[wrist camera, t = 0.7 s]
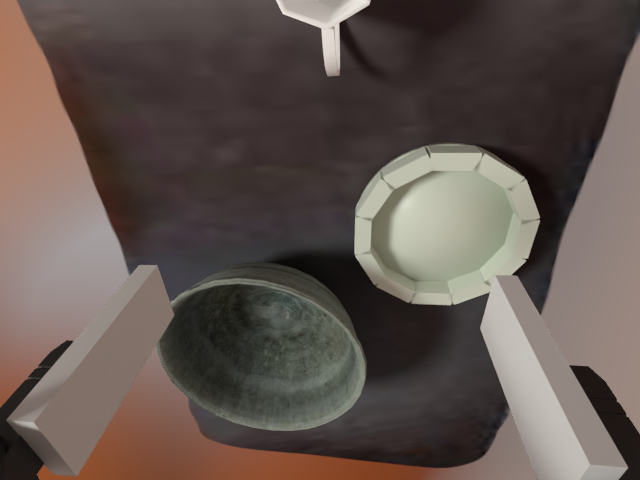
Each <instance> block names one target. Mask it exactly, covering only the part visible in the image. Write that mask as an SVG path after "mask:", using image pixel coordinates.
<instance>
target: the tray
mask: <svg viewBox="0 0 640 480" xmlns="http://www.w3.org/2000/svg"><path fill="white" fill-rule="evenodd" d="M538 218H540V216H539V213H538V210H537V207H536V205H535V202H534V199H533V196H532V194H531V191H530V188H529V185H528V183H527V180H526V179H525V178H524V177H523V176H522V175H521V174H520V173H519V172H518V171H517V170H516V169H515V168H513V167H512V166H510V165H508V164H507V163H505V162H504V161H503V160H501V159H500V158H499V157H497V156H496V155H494V154H493V153H491V152H489V151H487V150H485V149H483V148H481V147H477V146H476V145H470V144H464V143H455V142H443V143H434V144H428V145H424V146H420V147H417V148H414V149H411V150H409V151H407V152H405V153H403V154H401V155H399V156H397V157H396V158H394V159H392V160H391V161H390V162H388V163H387V164H386V165H384V166H383V167H382V168H381V169H380V170H379V171H378V172H377V173H376V174H375V175H374V176H373V177H372V179H371V180H370V181H369V183H368V184H367V186H366V187H365V189H364V191H363V193H362V195H361V197H360V200H359V202H358V203H357V205H356V208H355V251H354V254H355V257H356V258H357V260H358V261H359V263H360V264H361V266H362V268H363V269H364V271H365V272H366V274H367V275H368V277H369V278H370V280H371V281H372V283H373V284H374V285H376V287H378V288H380V289H382V290H384V291H386V292H388V293H390V294H392V295H394V296H396V297H398V298H400V299H402V300H404V301H406V302H408V303H409V302H410V301H411V304H432V305H451V303H452V302H453V304H454V305H455V304H458V303H460V302H463V301H466V300H469V299H472V298H475V297H477V296H480V295H483V294H486V293H489V292H491V288H492V285H493V281H494V277H495V275H510V276H511V275H512V274H513V273H514V272H515V271H516V270H517V269H518V268H519V267H520V266H522V265H523V264H524V263H525V262H526V260H525V259H528V257H529V254H530V251H531V248H532V244H533V241H534V238H535V235H536V232H537V229H538V226H539V223H540V220H539V219H538Z"/></svg>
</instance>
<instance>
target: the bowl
mask: <svg viewBox="0 0 640 480" xmlns="http://www.w3.org/2000/svg"><path fill="white" fill-rule="evenodd" d="M170 304H171V307H172V310H173V313H174V317H173V318H172V320H171V322H170V323H169V325H168V327H167V328H166V330H165V332H164V333H163V335H162V337H161V338H160V340H159V342H158V343H157V345H156V348H157V352H158V355H159V358H160V360H161V363H162V366H163V368H164V369H165V371H166V373H167V374H168V376H169V377H170V379H171V381H172V382H173V383H174V384H175V385H176V386H177V387H178V388H179V389H180V390H181V391H182V392H183V393H184V394H185V395H186V396H188V397H189V398H190V399H191V400H193V401H194V402H195V403H196V404H198V405H199V406H201V407H202V408H204V409H206V410H208V411H210V412H211V413H213V414H215V415H217V416H219V417H222V418H224V419H227V420H229V421H231V422H234V423H237V424H241V425H245V426H249V427H253V428H260V429H267V430H285V431H292V430H301V429H309V428H313V427H316V426H319V425H322V424H326V423H328V422H330V421H332V420H334V419H336V418H338V417H339V416H341V415H342V414H343V413H345V412H346V411H347V410H349V409H350V408H351V407H352V406H353V405H354V403H355V402H356V400H357V399H358V397H359V396H360V395H361V393H362V391H363V388H364V384H365V380H366V369H367V360H366V357H365V354H364V351H363V348H362V345H361V343H360V341H359V340H358V338H357V336H356V333H355V330H354V327H353V324H352V321H351V319H350V317H349V315H348V314H347V312H346V310H345V309H344V307H343V306H342V304H341V303H340V301H339V300H338V298H337V297H336V296H335V295H334V294H333V293H332V292H331V291H330V290H329V289H328V288H327V287H326V286H325V285H323V284H322V283H321V282H319V281H318V280H316V279H315V278H314V277H312V276H311V275H308V274H306V273H304V272H301V271H299V270H297V269H294V268H291V267H287V266H283V265H280V264H274V263H264V262H254V263H244V264H239V265H236V266H232V267H229V268H226V269H222V270H220V271H218V272H216V273H214V274H212V275H211V276H209V277H207V278H205V279H204V280H202V281H200V282H198V283H197V284H195V285H194V286H192V287H191V288H190V289H188V290H187V291H185V292H183V293H181V294H179V295H178V296H177V297H176V298H175V299H174V300H172V301H171V302H170Z"/></svg>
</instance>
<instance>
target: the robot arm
mask: <svg viewBox="0 0 640 480" xmlns="http://www.w3.org/2000/svg"><path fill="white" fill-rule="evenodd" d="M173 317H174V313H173V310H172V307H171V304H170V301H169V298H168V295H167V292H166V289H165V286H164V283H163V281H162V278H161V275H160V272H159V269H158V266H157V265H139V266H138V267H137V268H136V269H135V271H134V272H133V273H132V274H131V275H130V276H129V278H128V279H127V280H126V281H125V282H124V283H123V285H122V286H121V287H120V288H119V289H118V290H117V292H116V293H115V294H114V295H113V296H112V298H111V299H110V300H109V301H108V302H107V303H106V304H105V306H104V307H103V308H102V309H101V310H100V311H99V313H98V314H97V315H96V316H95V317H94V318H93V320H92V321H91V322H90V323H89V324H88V325H87V327H86V328H85V329H84V330H83V331H82V332H81V334H80V335H79V336H78V337H77V338H76V339H75V341H65V342H64V343H63V344H61V345H60V346H58V347H57V348H56V349H54V350H53V351H51V352H50V353H49V354H48V356H47V357H46V358H45V359H44V360H43V361H42V362H41V363H40V364H39V366H38V368H37V369H35V370H34V371H33V372H32V373H31V375H29V377H28V380H25V381H24V382H23V383H22V384H21V386H20V387H19V388H18V389H17V390H16V391H15V392H14V393H13V394H12V395H11V397H10V398H9V399H8V400H7V401H6V402H5V403H4V404H3V405H2V407H1V408H0V480H39V478H38V476H37V473H38V472H39V470H40V469H41V467H42V466H43V465H45V466H46V467H47V468H48V469H49V470H50V472H51V473H52V474H57V475H67V476H77V475H78V474H79V472H80V470H81V469H82V467H83V465H84V464H85V462H86V461H87V459H88V457H89V456H90V454H91V452H92V451H93V449H94V447H95V446H96V444H97V442H98V441H99V439H100V437H101V436H102V434H103V432H104V431H105V429H106V427H107V426H108V424H109V423H110V421H111V419H112V417H113V416H114V414H115V413H116V411H117V409H118V408H119V406H120V404H121V403H122V401H123V399H124V398H125V396H126V394H127V393H128V391H129V389H130V387H131V386H132V384H133V383H134V381H135V379H136V378H137V376H138V374H139V373H140V371H141V370H142V368H143V366H144V365H145V363H146V361H147V360H148V358H149V356H150V355H151V353H152V351H153V350H154V348H155V346H156V345H157V343H158V342H159V340H160V338H161V337H162V335H163V333H164V332H165V330H166V328H167V327H168V325H169V323H170V322H171V320H172V318H173ZM480 329H481V332H482V334H483V337H484V340H485V343H486V345H487V348H488V351H489V353H490V356H491V359H492V361H493V364H494V367H495V369H496V372H497V375H498V378H499V380H500V383H501V386H502V388H503V391H504V394H505V396H506V399H507V402H508V404H509V407H510V410H511V412H512V415H513V418H514V421H515V423H516V426H517V429H518V431H519V434H520V437H521V439H522V442H523V445H524V448H525V450H526V453H527V456H528V458H529V461H530V464H531V466H532V469H533V472H534V474H535V477H536V480H640V434H639V432H638V431H637V429H636V428H635V426H634V425H633V423H632V422H631V420H630V419H629V417H626V413H625V411H624V410H623V408H622V406H621V405H620V404H619V403H618V402H617V399H616V397H615V396H614V394H613V393H612V391H611V390H610V388H609V387H608V385H607V384H606V382H605V381H604V380H603V379H602V378H601V377H599V376H598V375H597V374H596V373H595V372H594V371H593V370H592V369H591V368H589V367H588V366H571V365H568V363H567V361H566V359H565V358H564V356H563V354H562V352H561V351H560V349H559V347H558V346H557V344H556V342H555V341H554V339H553V337H552V335H551V334H550V332H549V330H548V328H547V327H546V325H545V323H544V321H543V320H542V318H541V316H540V315H539V313H538V311H537V309H536V308H535V306H534V304H533V303H532V301H531V299H530V297H529V296H528V294H527V292H526V290H525V289H524V287H523V285H522V284H521V282H520V280H519V278H518V277H517V276H510V275H495V277H494V281H493V285H492V288H491V292H490V295H489V299H488V302H487V306H486V309H485V313H484V317H483V320H482V324H481V327H480Z"/></svg>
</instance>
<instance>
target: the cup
mask: <svg viewBox="0 0 640 480" xmlns="http://www.w3.org/2000/svg"><path fill="white" fill-rule="evenodd" d="M276 1H277V3H278V5H279V7H280V9H281V11H282V13H283V14H284V15H287V16H290V17H292V18H295V19H298V20H300V21H303V22H306V23H309V24H311V25H314V26H317V27H319V28H322V42H323V54H324V63H325V69H326V74H327V75H328V76H339V75H340V29H339V23H340V22H341V21H343V20H345V19H347V18H348V17H350V16H352V15H353V14H355V13H357V12H358V11H360V10H362V9H363V8H365V7H367V6H368V5H369V4H370V1H371V0H276Z"/></svg>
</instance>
